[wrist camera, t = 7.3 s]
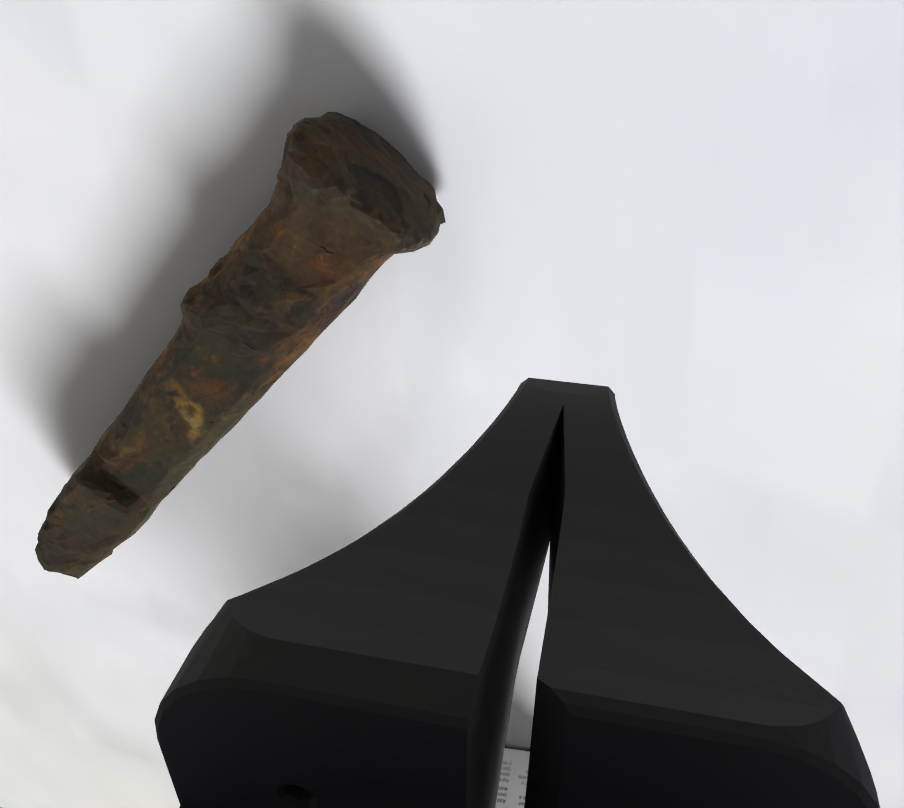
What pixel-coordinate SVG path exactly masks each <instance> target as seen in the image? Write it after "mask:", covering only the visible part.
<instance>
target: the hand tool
mask: <svg viewBox="0 0 904 808" xmlns="http://www.w3.org/2000/svg"><path fill="white" fill-rule="evenodd" d="M277 178H278V183H277V185H276V187H275V190H274V193H273V196H272V199H271V202H270V204H269V206H268V207H267V208H266V209H265V210H264V211H263V212H262V213H261V214H260V215H259V217H258V218H257V219H256V221H255V223H254V224H253V225H252V226H250V228H249V229H248V230H247V231H246V232H245V233H244V234H243V235H242V236H241V237H240V238H239V239H238V240H237V241H236V242H235V243H234V245H233V246H232V248H231V249H230V251H229V252H228V254H227V255H225V256H224V257H223V258H221V259H219V261H218V262H217V263H216V264H215V265H214V266H213V268H212V269H211V270H210V273H209V276H208V277H207V278H205V279H204V280H203V281H202V282H200V283H199V284H197V285H195V286H194V287H192V288H190V289H189V290H188V292H187V293H186V295H185V297H184V299H183V301H182V303H181V309H182V313H183V320H182V323H181V325H180V327H179V329H178V331H177V333H176V334H175V336H174V337H173V338H172V340H171V341H170V343H169V344H168V346H167V347H166V349H165V350H164V351H163V352H162V354H161V355H160V356H159V358H158V359H157V360H156V362H155V363H154V364H153V366H152V367H151V368H150V370H149V371H148V372H147V374H146V375H145V377H144V379H143V381H142V382H141V384H140V385H139V387H138V388H137V389H136V391H135V393H134V394H133V396H132V397H131V399H130V400H129V402H128V403H127V405H126V406H125V408H124V409H123V411H122V412H121V413H120V415H119V416H118V417H117V419H116V420H115V421H114V423H113V424H112V425H111V426H110V427H109V428H108V429H107V430H106V432H105V433H104V434H103V435H102V437H101V438H100V440H99V442H98V443H97V445H96V447H95V449H94V451H93V452H92V454H91V455H90V456H89V457H88V458H87V459H86V460H85V461H84V463H83V464H82V465H81V466H80V467H79V468H78V469H77V470H76V471H75V472H74V473H73V475H72V476H71V478H70V480H69V481H68V482H67V483H66V484H65V485H64V487H63V489H62V491H61V493H60V494H59V495H58V497H57V498H56V500H55V501H54V502H53V504H52V505H51V507H50V508H49V510H48V513H47V517H46V520H45V521H44V523H43V525H42V527H41V529H40V531H39V533H38V544H37V546H36V548H35V551H36V554H37V558H38V561H39V562H40V564H41V565H42V567H43V568H44V570H47V571H49V572H58V573H62V574H65V575H69V576H73V577H76V578H77V579H78V578H80V577H81V576H83V575H84V574H85V573H86V572H88V571H89V570H90V569H92V568H93V567H94V566H95V565H97V564H98V563H99V562H101V561H102V560H104V559H105V558H107V557H108V556H109V555H111V554H112V552H113V549H114V548H116V547H117V546H118V545H119V544H121V543H122V542H124V541H125V540H127V539H128V538H129V537H131V536H132V535H133V534H135V533H136V532H137V531H138V530H139V529H140V527H141V526H142V525H143V524H144V523H145V522H146V521H147V520H148V519H149V518H150V516H151V515H152V514H153V512H154V510H155V509H156V507H157V506H158V505H159V503H160V502H161V501H162V500H163V499H164V498H165V497H166V496H167V495H168V494H169V493H170V492H171V491H172V490H173V489H174V488H175V487H176V485H177V484H178V483H179V482H180V481H181V480H182V479H183V478H184V476H185V475H186V474H187V473H188V472H189V471H190V470H191V469H192V468H193V467H194V466H195V465H196V463H197V462H198V461H199V460H200V459H201V458H202V457H203V456H204V455H206V454H207V453H208V452H209V451H210V450H211V449H212V448H213V447H214V446H215V444H216V443H217V442H218V441H219V440H220V439H221V438H222V437H223V436H224V435H225V434H227V433H228V432H229V431H230V430H231V429H232V428H233V427H234V426H235V425H236V424H237V423H238V422H239V421H240V420H241V418H242V417H243V416H244V415H245V414H246V413H247V411H248V410H249V409H250V408H251V407H252V406H253V405H254V404H256V403H257V402H258V401H259V400H260V399H261V398H262V396H263V395H264V394H265V393H266V392H267V391H268V390H269V388H270V387H271V386H272V385H273V384H274V383H275V382H276V381H277V380H278V379H279V378H280V376H281V375H282V374H283V373H284V372H285V371H286V370H287V369H288V368H289V367H290V366H291V365H292V364H293V363H294V362H295V361H296V360H297V359H298V358H299V357H300V356H301V355H302V354H303V353H304V352H305V351H306V350H307V349H308V348H309V347H310V345H311V344H312V343H313V342H314V341H315V339H316V338H317V337H318V336H319V335H320V334H321V333H322V332H323V331H324V330H325V329H326V328H327V327H328V326H329V325H330V324H331V323H332V322H333V321H334V320H335V319H336V318H337V317H338V316H339V315H340V314H341V312H342V311H343V310H344V309H346V308H347V307H348V306H349V305H350V304H351V303H352V302H353V301H354V300H355V299H356V297H357V296H358V295H359V293H360V292H361V290H362V289H363V287H364V286H365V285H366V283H367V282H368V280H369V279H370V278H371V277H372V275H373V274H374V273H375V272H376V271H377V270H378V269H379V268H380V266H381V265H382V264H383V263H384V262H385V261H386V260H387V259H389V258H390V257H391V256H392V255H393V254H398V253H406V252H413V251H416V250H418V249H420V248H422V247H425V246H427V245H429V244H430V243H431V242H432V240H433V239H434V238H435V236H436V235H437V233H438V231H439V227H440V224H442V223H444V222H445V217H444V212H443V208H442V207H441V206H440V204H439V203H438V202H437V199H436V194H435V190H434V189H433V188H432V187H431V186H430V184H429V183H428V182H427V181H426V180H424V179H423V178H422V177H421V176H419V175H418V174H417V172H416V171H415V170H414V169H413V168H412V167H411V166H410V165H409V164H408V162H407V161H406V160H405V158H404V157H403V156H402V155H401V154H400V153H399V152H398V151H397V150H396V149H394V148H393V147H392V146H391V145H390V144H389V143H387V142H386V141H385V140H384V139H383V138H381V137H380V136H379V135H377V134H376V133H375V132H373V131H371V130H370V129H368V128H366V127H364V126H363V125H361V124H360V123H359V122H357V121H356V120H353V119H351V118H349V117H347V116H344V115H342V114H340V113H337V112H328V113H326V114H324V115H323V116H321V117H320V118H304V119H302V120H301V121H299V122H298V123H296V124H295V125H293V129H292V130H291V131H290V132H289V133H288V135H287V139H286V143H285V150H284V156H283V161H282V166H281V168H280V171H279V173H278V175H277Z"/></svg>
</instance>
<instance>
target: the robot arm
mask: <svg viewBox="0 0 904 808" xmlns="http://www.w3.org/2000/svg"><path fill="white" fill-rule="evenodd" d="M549 542H550V560H549V592H548V615H547V622H546V628H545V634H544V640H543V646H542V652H541V659H540V665H539V671H538V676H537V685H536V695H535V705H534V715H533V725H532V736H531V746H530V756H529V766H528V776H527V786H526V796H525V806H524V808H880V806H879V801H878V796H877V792H876V788H875V785H874V782H873V779H872V775H871V772H870V770H869V767H868V764H867V762H866V759H865V756H864V754H863V751H862V749H861V746H860V743H859V741H858V738H857V736H856V734H855V731H854V729H853V727H852V724H851V722H850V719H849V717H848V715H847V713H846V710H845V708H844V706H843V705H842V703H841V702H840V701H838V700H837V699H836V698H835V697H834V696H832V695H831V694H830V693H829V692H828V691H826V690H825V689H824V688H823V687H822V686H820V685H819V684H818V683H817V682H816V681H814V680H813V679H812V678H811V677H810V676H808V675H807V674H806V673H805V672H804V671H802V670H801V669H800V668H799V667H798V666H796V665H795V664H794V663H793V662H791V661H790V660H789V659H788V658H787V657H785V656H784V655H783V654H782V653H781V652H780V651H779V650H778V649H777V648H775V647H774V646H773V645H772V644H771V643H770V642H769V641H768V640H767V639H766V638H765V637H764V636H763V635H762V634H761V633H760V632H759V631H758V630H757V629H756V628H755V627H754V626H753V625H752V624H751V623H750V622H749V621H748V620H747V619H746V618H745V617H744V616H743V615H742V614H741V613H740V611H739V610H738V609H737V608H736V607H735V606H734V605H733V604H732V603H731V601H730V600H729V599H728V598H727V597H726V596H725V595H724V594H723V593H722V591H721V590H720V589H719V588H718V587H717V586H716V585H715V584H714V582H713V581H712V580H711V579H710V577H709V576H708V575H707V574H706V572H705V571H704V570H703V568H702V567H701V566H700V565H699V563H698V562H697V561H696V559H695V558H694V557H693V555H692V554H691V553H690V551H689V550H688V548H687V547H686V545H685V544H684V543H683V541H682V540H681V538H680V537H679V536H678V534H677V532H676V531H675V529H674V528H673V526H672V525H671V523H670V522H669V520H668V518H667V517H666V515H665V513H664V512H663V510H662V508H661V507H660V505H659V503H658V501H657V500H656V498H655V496H654V494H653V492H652V491H651V489H650V487H649V485H648V483H647V481H646V479H645V477H644V475H643V473H642V471H641V469H640V467H639V464H638V462H637V460H636V458H635V456H634V454H633V451H632V449H631V447H630V444H629V442H628V439H627V437H626V434H625V431H624V429H623V426H622V423H621V420H620V417H619V413H618V410H617V405H616V401H615V394H614V393H613V392H612V390H611V389H610V388H609V387H606V386H597V385H588V384H579V383H571V382H562V381H553V380H544V379H535V378H528V379H526V380H525V381H524V382H522V383H521V384H520V386H519V388H518V389H517V391H516V392H515V394H514V395H513V397H512V398H511V400H510V401H509V403H508V404H507V405H506V407H505V408H504V409H503V410H502V412H501V413H500V414H499V415H498V417H497V418H496V419H495V421H494V422H493V423H492V424H491V425H490V426H489V428H488V429H487V430H486V431H485V432H484V433H483V434H482V435H481V437H480V438H479V439H478V440H477V441H476V442H475V443H474V445H473V446H472V447H471V448H470V449H469V450H468V451H467V452H466V453H465V454H464V455H463V456H462V457H461V458H460V459H459V460H458V461H457V462H456V463H455V464H454V465H453V466H452V467H451V468H450V469H449V470H448V471H447V472H446V473H445V474H444V475H443V476H441V477H440V478H439V479H438V480H437V481H436V482H435V483H434V484H433V485H431V486H430V487H429V488H428V489H427V490H426V491H424V492H423V493H422V494H421V495H420V496H418V497H417V498H416V499H415V500H413V501H412V502H411V503H409V504H408V505H407V506H406V507H404V508H403V509H402V510H400V511H399V512H398V513H396V514H395V515H393V516H392V517H391V518H389V519H388V520H386V521H385V522H383V523H382V524H381V525H379V526H378V527H376V528H375V529H373V530H372V531H370V532H369V533H367V534H366V535H364V536H363V537H361V538H359V539H358V540H356V541H355V542H353V543H351V544H350V545H348V546H346V547H344V548H342V549H341V550H339V551H337V552H335V553H333V554H331V555H330V556H328V557H326V558H324V559H322V560H320V561H318V562H316V563H314V564H312V565H310V566H308V567H306V568H304V569H302V570H300V571H297V572H295V573H293V574H291V575H289V576H286V577H284V578H282V579H279V580H277V581H274V582H272V583H270V584H267V585H265V586H262V587H260V588H257V589H255V590H253V591H250V592H248V593H245V594H243V595H240V596H238V597H235V598H232V599H229V600H228V601H226V603H225V604H224V605H223V607H222V608H221V610H220V611H219V612H218V614H217V615H216V616H215V618H214V619H213V620H212V622H211V623H210V624H209V625H208V626H207V628H206V629H205V630H204V632H203V633H202V635H201V636H200V637H199V639H198V640H197V642H196V643H195V645H194V646H193V648H192V649H191V651H190V653H189V654H188V656H187V658H186V659H185V661H184V663H183V665H182V666H181V668H180V670H179V671H178V673H177V675H176V677H175V678H174V680H173V682H172V684H171V685H170V687H169V689H168V690H167V692H166V694H165V696H164V697H163V699H162V701H161V702H160V705H159V708H158V711H157V714H156V717H155V726H156V732H157V739H158V742H159V745H160V748H161V751H162V753H163V756H164V759H165V762H166V765H167V768H168V771H169V774H170V776H171V779H172V782H173V785H174V788H175V791H176V794H177V796H178V799H179V802H180V805H181V806H180V808H495V807H496V800H497V794H498V787H499V781H500V774H501V767H502V761H503V754H504V748H505V741H506V734H507V728H508V722H509V715H510V709H511V702H512V696H513V689H514V683H515V678H516V673H517V669H518V664H519V659H520V655H521V651H522V647H523V643H524V639H525V636H526V632H527V628H528V624H529V620H530V616H531V612H532V609H533V605H534V601H535V597H536V593H537V589H538V585H539V582H540V578H541V574H542V570H543V566H544V562H545V558H546V554H547V550H548V546H549Z"/></svg>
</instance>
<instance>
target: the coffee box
mask: <svg viewBox="0 0 904 808" xmlns="http://www.w3.org/2000/svg"><path fill="white" fill-rule="evenodd" d="M529 756H530V751H523V750H515V749H509V748H504V754H503V761H502V767H501V774H500V781H499V787H498V794H497V800H496V807H495V808H524V806H525V796H526V786H527V776H528V766H529Z"/></svg>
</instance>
